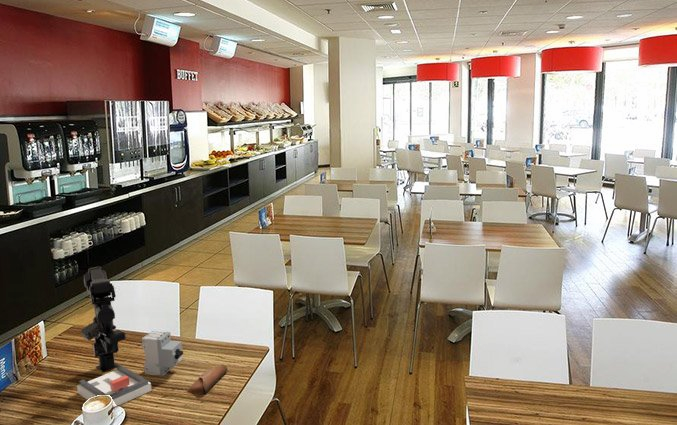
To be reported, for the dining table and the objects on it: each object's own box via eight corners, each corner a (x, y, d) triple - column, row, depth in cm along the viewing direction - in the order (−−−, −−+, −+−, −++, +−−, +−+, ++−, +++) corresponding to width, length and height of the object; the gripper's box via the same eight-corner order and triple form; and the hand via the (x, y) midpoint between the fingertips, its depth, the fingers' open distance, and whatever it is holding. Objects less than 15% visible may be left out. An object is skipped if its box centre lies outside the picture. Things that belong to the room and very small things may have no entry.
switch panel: (78, 393, 201) (77, 385, 201) (123, 374, 215) (122, 367, 214) (104, 411, 189) (103, 403, 188) (151, 390, 202) (150, 382, 202)
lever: (111, 395, 197) (109, 381, 196) (126, 388, 202) (125, 375, 201) (114, 397, 196) (113, 383, 195) (130, 390, 200) (128, 377, 199)
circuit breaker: (178, 376, 212) (175, 340, 209) (144, 374, 215) (141, 338, 212) (187, 367, 219) (184, 332, 216) (154, 365, 222) (151, 330, 219)
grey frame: (79, 384, 202) (79, 381, 201) (120, 368, 214) (120, 364, 213) (106, 402, 189) (106, 398, 189) (148, 384, 201) (148, 380, 201)
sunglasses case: (208, 369, 217) (215, 356, 215) (222, 379, 216) (229, 366, 214) (184, 392, 200) (192, 379, 198) (200, 403, 199) (208, 390, 197)
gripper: (70, 315, 204) (75, 353, 207) (94, 327, 192) (99, 368, 195) (99, 306, 212) (104, 343, 215) (124, 317, 200) (128, 356, 203)
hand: (108, 352), depth 207 cm, fingers closed
